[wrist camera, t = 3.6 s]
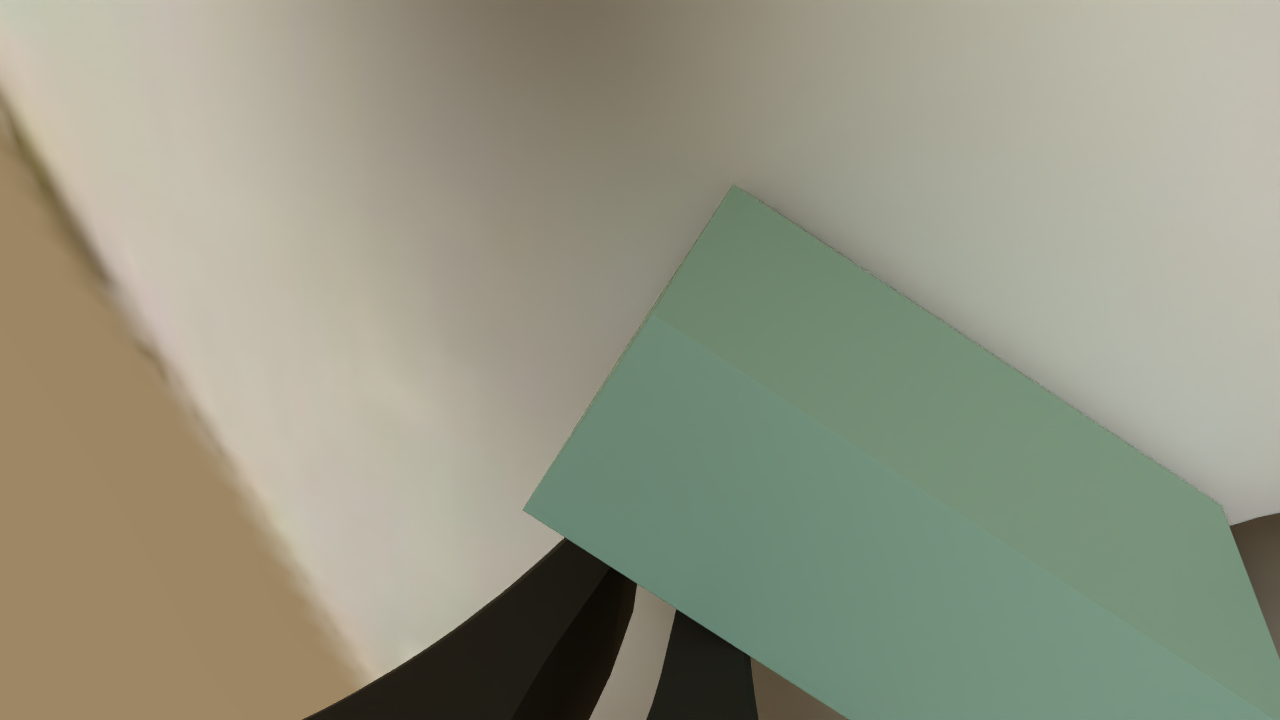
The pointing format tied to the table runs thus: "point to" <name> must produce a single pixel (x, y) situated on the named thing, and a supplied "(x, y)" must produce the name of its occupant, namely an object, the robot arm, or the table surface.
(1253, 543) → the stool base
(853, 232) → the table surface
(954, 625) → the folding leg
